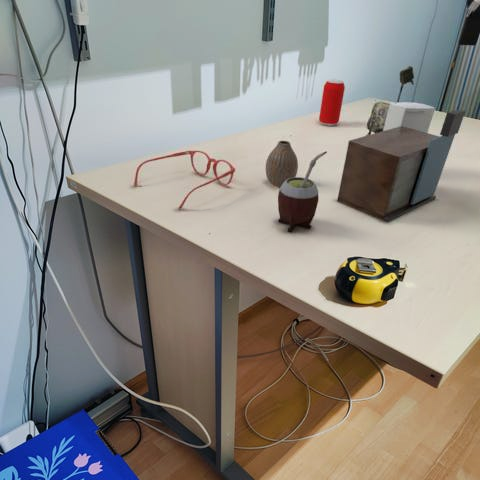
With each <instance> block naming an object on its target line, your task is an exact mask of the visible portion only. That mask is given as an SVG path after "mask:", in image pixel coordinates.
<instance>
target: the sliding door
mask: <svg viewBox="0 0 480 480" xmlns="http://www.w3.org/2000/svg"><path fill="white" fill-rule="evenodd" d="M465 114H466V111H465V110H461V109H455V110H451V111H447V112H446V114H445V118H444V120H443V124H442V126H441V129H440V133H439V136H440V137H437V138H434V139H431V140H430V143H429V146H428V150H427V153H426V156H425V159H424V162H423V165H422V169H421V172H420V175H419V178H418V181H417V184H416V188H415V191H414V194H413V197H412V200H411V203H410V204H412V205H413V204H415V203H417V202H419V201H421V200H424V199H426V198H428V197H430V196H432V195H435V193H436V190H437V187H438V185H439V182H440V179H441V176H442V173H443V171H444V168H445V164H446V161H447V160H448V157H449V153H450V150H451V147H452V145H453V142H454V139H455V137H456V135H458V134H459V131H460V129H461V125H462V124H463V123H462V122H463V120H464V118H465V117H464V116H465Z"/></svg>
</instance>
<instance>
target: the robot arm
mask: <svg viewBox="0 0 480 480" xmlns="http://www.w3.org/2000/svg"><path fill="white" fill-rule="evenodd" d="M466 7H467V8H466V11H465V14H464V15H465V20H464V24H463V26H462V29H461V33H460V36H459V39H458V45H459V46H473V47H474V46H476V45H477V43H478V40H479V37H480V0H466Z"/></svg>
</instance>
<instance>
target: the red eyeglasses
mask: <svg viewBox="0 0 480 480" xmlns="http://www.w3.org/2000/svg"><path fill="white" fill-rule="evenodd" d="M196 153H201V154H203V155H205V157H206V158H207V164H206V170H205V172H204V173H200V172H199V171H198V170H197V169H196V167H195V164H194V156H195V154H196ZM187 155H190V162H191V167H192V169H193V171H194V172H195V173H196V174H197V175H199V176H206V175H207V174H208V173H209V171H210V169H211V165H212V171H213V175H214V177H215V178H213V179H211V180H209V181H206V182H204V183H202V184H199V185H197V186H196V187H194V188H193V189H191V190H190V191H188V193H187V194H186V196H185V197H184V198H183V200H182V201H181V204H180V205H179V207H178V210H181V209H182V208H183V207H184V205H185V203H186V201H187V199H188V198H189V196H190V195H192V193H193V192H194V191H196V190H197V189H200V188H202V187H205V186H207V185H209V184H212V183H214V182H218V183H219V184H220V185H222V186H228V185H229V184H231V182H232V180H233V177H234V173H235V172H236V168H235V167H234V166H233V165H232V164H231V163H230V162H229V161H227V160H225V159H218V160H216V159H215V158H211V157H210V156H209V155H208V153H206V152H205V151H202V150H185V151H180V152H175V153H173V154H168V155H164V156H159V157H155V158H151V159H147V160H145V161H143V162H141V163H140V164H139V165H138V167H137V168H136V170H135V175H134V181H133V186H134V187H137V186H138V175H139V172H140V169H141V167H142V166H143V165H145V164H147V163H150V162H153V161H158V160H163V159H169V158H173V157H180V156H187ZM220 162H223V163H226V164H227V165H228V167H229V168H230V170H228V171H226V172H224V173H222V174H221V175H219V176H218V173H217V168H218V167H217V166H218V164H219V163H220ZM212 163H213V164H212ZM229 175H230V176H229ZM228 176H229V177H230V178H229V180H228V182H227V183H222V182H221V180H220V179H223V178H226V177H228Z"/></svg>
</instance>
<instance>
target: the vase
mask: <svg viewBox="0 0 480 480" xmlns="http://www.w3.org/2000/svg"><path fill="white" fill-rule="evenodd" d="M298 171H299V161H298V157H297V155H296V153H295V150H294V149H293V148H292V145H291V142H290V141H288V140H279V141H278V142H277V144H276V146H274V148H273V149H272V150H271V151H270V153H269V155H268V156H267V159H266V162H265V176H266V179H267V181H268V182H269V184H271V185H272V186H274V187H278V188H280V187H281V186H282V184H283V183H284V182H285V181H286V180H287V179H289V178H293V177H297V174H298Z"/></svg>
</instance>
